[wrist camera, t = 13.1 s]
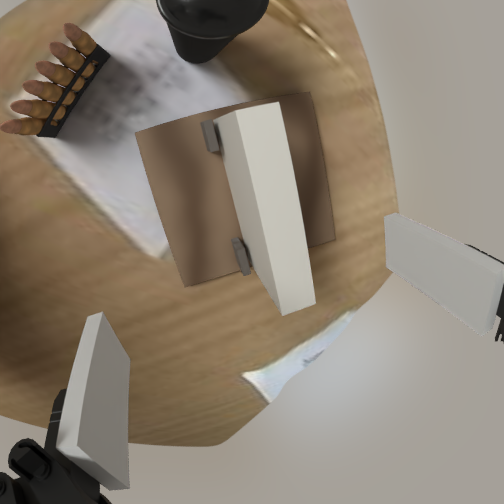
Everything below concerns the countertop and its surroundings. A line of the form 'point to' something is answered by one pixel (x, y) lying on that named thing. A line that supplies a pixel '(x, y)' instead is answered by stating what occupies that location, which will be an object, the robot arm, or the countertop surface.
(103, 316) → the robot arm
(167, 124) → the clip board
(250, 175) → the door panel
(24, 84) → the ammunition clip
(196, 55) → the drinking cup
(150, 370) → the countertop surface
